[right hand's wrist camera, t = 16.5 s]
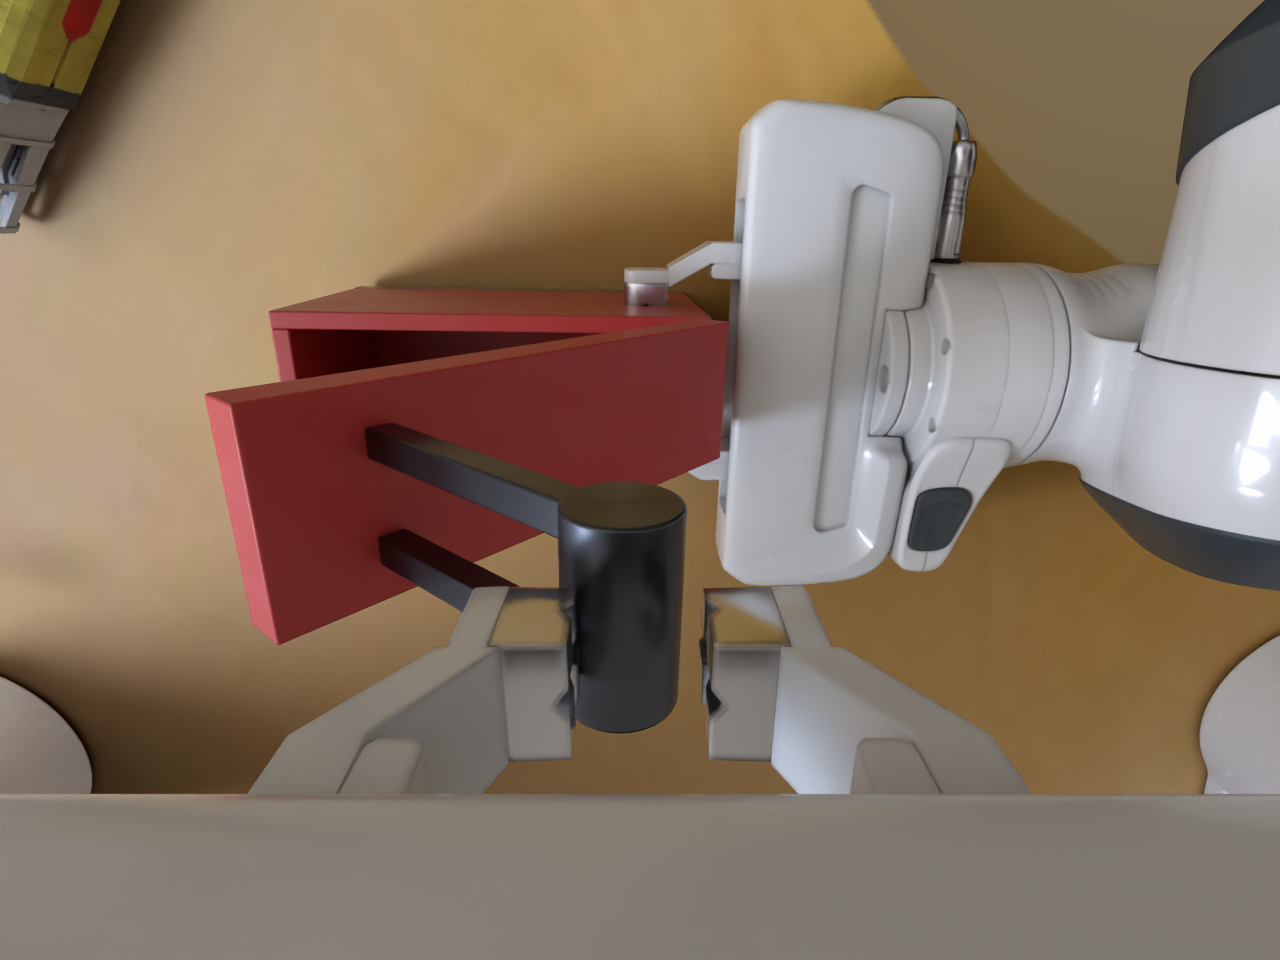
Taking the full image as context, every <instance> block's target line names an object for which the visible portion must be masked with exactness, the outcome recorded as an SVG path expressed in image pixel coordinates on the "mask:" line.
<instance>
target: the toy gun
mask: <svg viewBox="0 0 1280 960" xmlns="http://www.w3.org/2000/svg"><path fill="white" fill-rule="evenodd" d="M119 3H120V0H0V195H3V198H2V200H1V203H0V220H1V221H2V224H1V227H0V233H16V232H18V231H19V227H20V223H19V222H18V221H19V218H20V216H21V214H22V212H23V209H24V207H25V205H26V203H27V200H28V198H29V196H30V194H31V192H35V189H36V186H37V183H36V179H37V176H38V174H39V172H40V170H41V167H42V165H43V163H44V161H45V159H46V156H47V154H48V152H49V150H50V149H52V148H53V146H54V144H55V142H56V141H55V140H54V137H55V135H56V133H57V132H58V130H59V128H60V126H61V124H62V123H63V121H64V119H65V117H66V115H67V113H68V111H69V110H75V108H76V105H77V103H78V100H79V98H80V96H81V93H82V91H83V89H84V86H85V84H86V82H87V79H88V77H89V74H90V72H91V70H92V67H93V65H94V62H95V60H96V58H97V55H98V53H99V51H100V48H101V46H102V43H103V41H104V39H105V36H106V34H107V31H108V29H109V27H110V24H111V22H112V20H113V17H114V15H115V12H116V10H117V8H118V5H119Z"/></svg>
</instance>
